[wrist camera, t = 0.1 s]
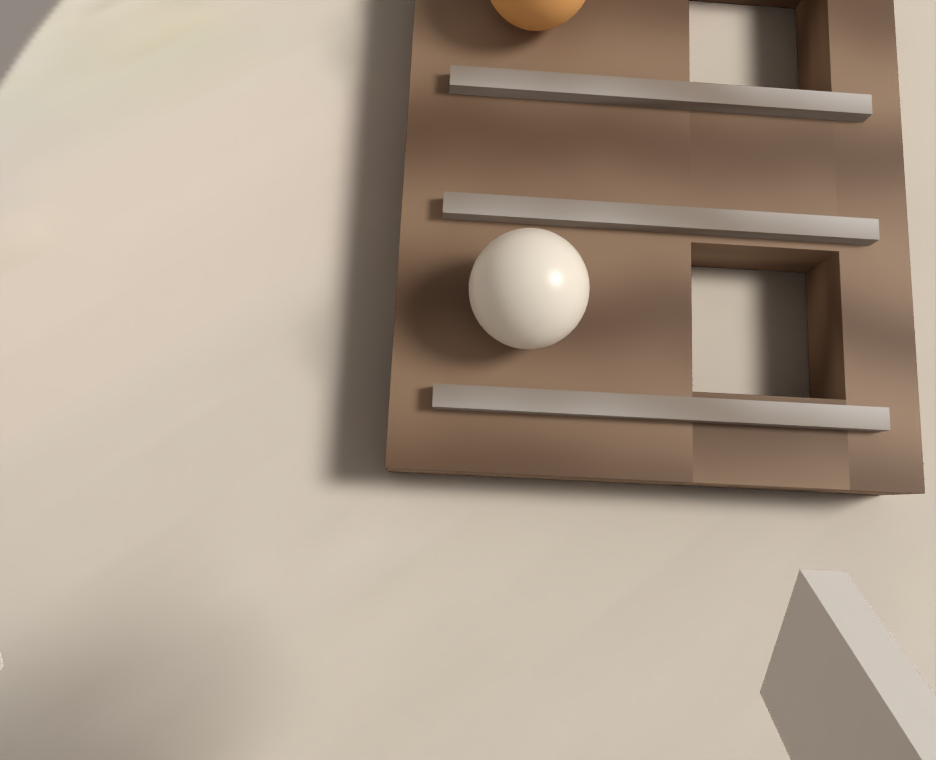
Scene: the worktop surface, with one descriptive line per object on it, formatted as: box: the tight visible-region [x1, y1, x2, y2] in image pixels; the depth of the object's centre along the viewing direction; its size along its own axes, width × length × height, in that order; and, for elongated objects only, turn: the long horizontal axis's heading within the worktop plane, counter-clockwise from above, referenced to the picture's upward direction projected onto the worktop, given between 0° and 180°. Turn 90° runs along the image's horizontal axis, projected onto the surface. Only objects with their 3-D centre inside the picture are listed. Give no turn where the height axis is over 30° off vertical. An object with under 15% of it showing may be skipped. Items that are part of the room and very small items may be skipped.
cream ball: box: [469, 228, 590, 349], centre depth 25 cm, size 4×4×4 cm
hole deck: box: [385, 0, 925, 495], centre depth 29 cm, size 24×19×3 cm
